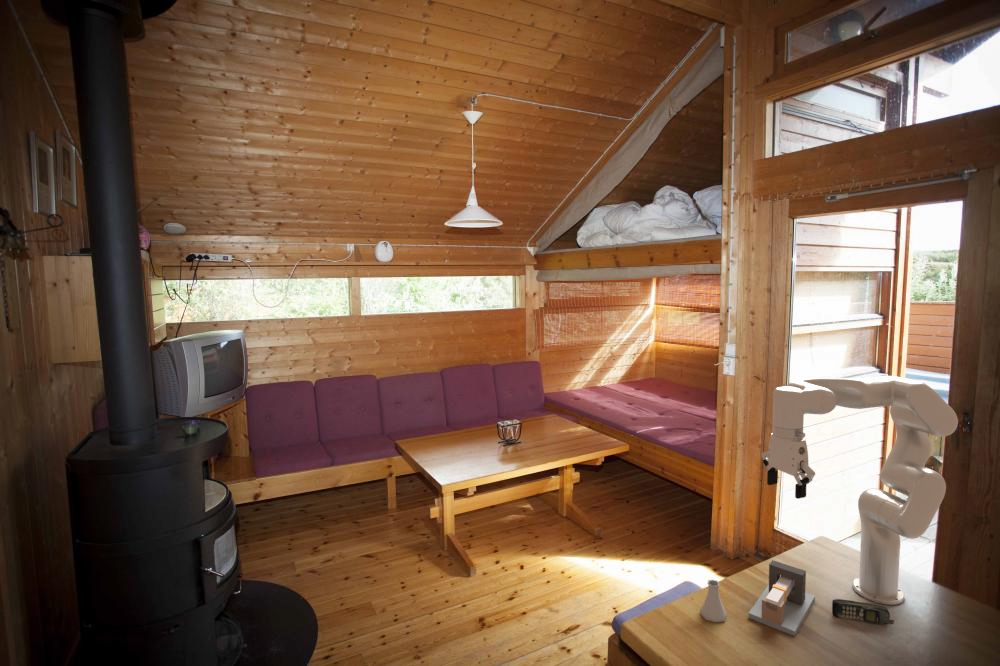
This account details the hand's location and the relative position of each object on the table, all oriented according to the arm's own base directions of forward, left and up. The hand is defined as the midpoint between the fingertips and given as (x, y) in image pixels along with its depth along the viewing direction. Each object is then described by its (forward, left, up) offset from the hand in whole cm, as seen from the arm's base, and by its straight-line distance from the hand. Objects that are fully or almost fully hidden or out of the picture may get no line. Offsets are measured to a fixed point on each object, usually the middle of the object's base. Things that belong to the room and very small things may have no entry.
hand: (786, 490), depth 150 cm
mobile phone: (-10, +18, -37) cm, 42 cm away
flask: (+15, -14, -37) cm, 42 cm away
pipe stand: (0, 0, -36) cm, 36 cm away
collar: (-4, 0, -34) cm, 35 cm away
